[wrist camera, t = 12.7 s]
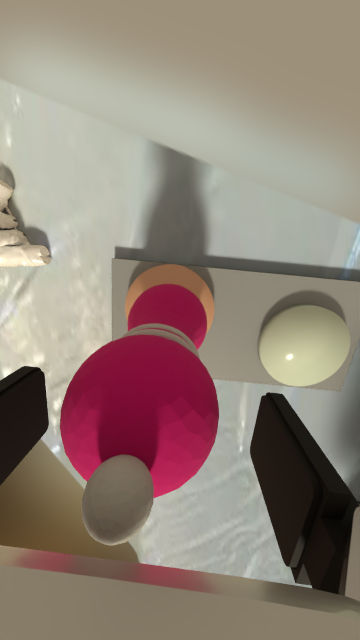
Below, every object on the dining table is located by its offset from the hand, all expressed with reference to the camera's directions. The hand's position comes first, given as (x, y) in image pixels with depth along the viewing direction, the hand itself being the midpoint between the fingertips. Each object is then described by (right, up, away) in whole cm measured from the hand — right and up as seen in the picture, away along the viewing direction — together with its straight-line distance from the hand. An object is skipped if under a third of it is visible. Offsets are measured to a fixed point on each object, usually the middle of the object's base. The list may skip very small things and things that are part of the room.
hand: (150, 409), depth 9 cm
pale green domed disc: (+16, +1, +17) cm, 23 cm away
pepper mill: (0, +5, +15) cm, 16 cm away
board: (+8, +3, +18) cm, 20 cm away
